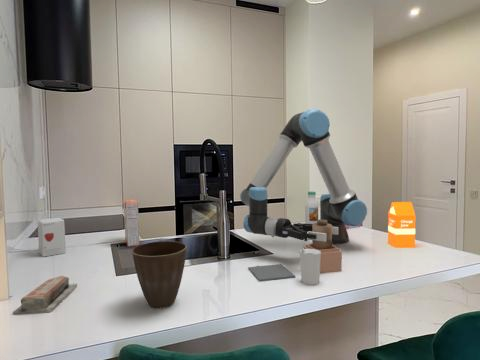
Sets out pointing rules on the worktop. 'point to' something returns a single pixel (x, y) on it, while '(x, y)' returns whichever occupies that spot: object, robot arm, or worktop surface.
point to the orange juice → (401, 225)
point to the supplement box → (51, 236)
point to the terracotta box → (329, 259)
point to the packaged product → (46, 296)
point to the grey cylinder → (310, 266)
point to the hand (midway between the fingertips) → (332, 234)
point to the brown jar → (322, 228)
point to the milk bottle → (311, 209)
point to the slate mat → (271, 272)
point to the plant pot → (160, 271)
